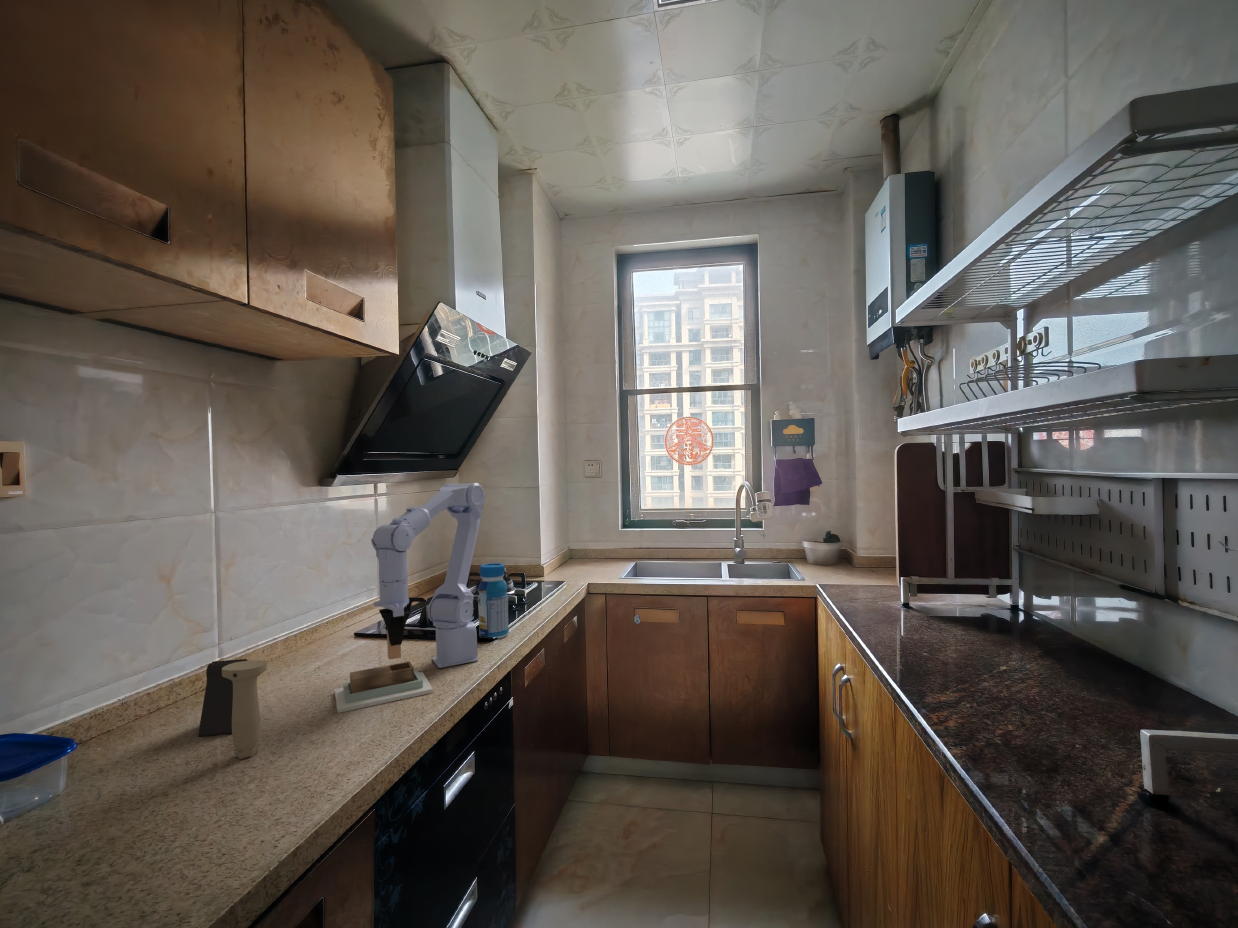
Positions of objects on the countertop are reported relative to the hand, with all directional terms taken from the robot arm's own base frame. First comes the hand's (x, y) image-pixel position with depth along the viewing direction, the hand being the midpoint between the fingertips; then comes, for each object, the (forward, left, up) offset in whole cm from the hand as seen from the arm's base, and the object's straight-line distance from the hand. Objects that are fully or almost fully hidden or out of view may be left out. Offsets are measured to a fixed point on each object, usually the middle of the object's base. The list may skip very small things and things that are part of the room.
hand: (395, 642), depth 121 cm
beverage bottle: (-29, -26, -10) cm, 41 cm away
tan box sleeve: (+3, +1, -9) cm, 10 cm away
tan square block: (0, 0, -3) cm, 3 cm away
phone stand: (+30, +1, -10) cm, 31 cm away
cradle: (+3, +1, -10) cm, 10 cm away
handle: (+26, +17, -10) cm, 32 cm away
